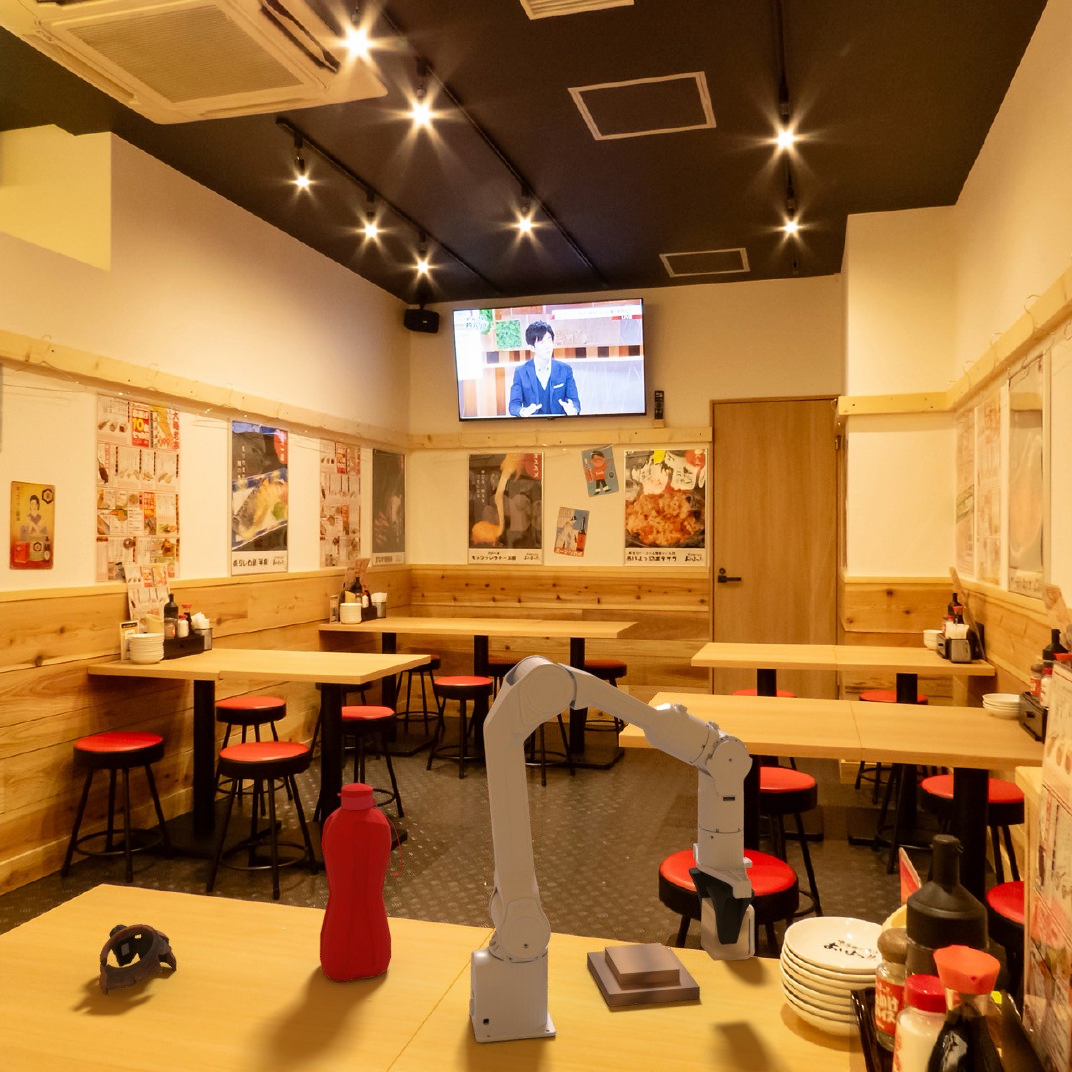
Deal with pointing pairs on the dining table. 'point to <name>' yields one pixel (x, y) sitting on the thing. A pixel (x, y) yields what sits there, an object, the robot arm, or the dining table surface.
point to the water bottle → (356, 887)
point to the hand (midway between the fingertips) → (720, 934)
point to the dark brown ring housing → (133, 955)
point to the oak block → (712, 941)
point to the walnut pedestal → (641, 975)
